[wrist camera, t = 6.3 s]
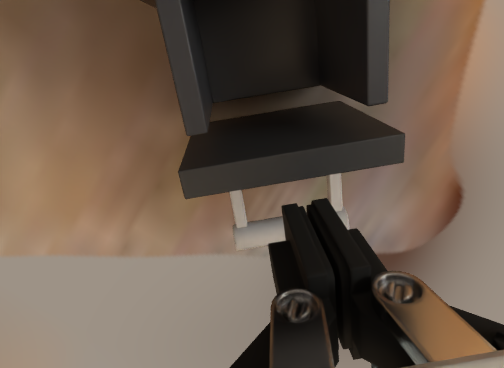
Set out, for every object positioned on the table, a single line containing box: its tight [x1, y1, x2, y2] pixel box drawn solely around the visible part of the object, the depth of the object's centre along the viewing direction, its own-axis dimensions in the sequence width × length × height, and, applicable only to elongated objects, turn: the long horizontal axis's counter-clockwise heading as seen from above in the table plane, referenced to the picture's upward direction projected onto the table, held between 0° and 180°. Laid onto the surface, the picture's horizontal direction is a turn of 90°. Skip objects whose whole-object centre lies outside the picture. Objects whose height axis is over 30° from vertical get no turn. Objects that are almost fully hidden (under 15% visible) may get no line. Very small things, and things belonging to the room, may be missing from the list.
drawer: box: [155, 0, 405, 251], centre depth 15 cm, size 17×9×8 cm, turn 8°
